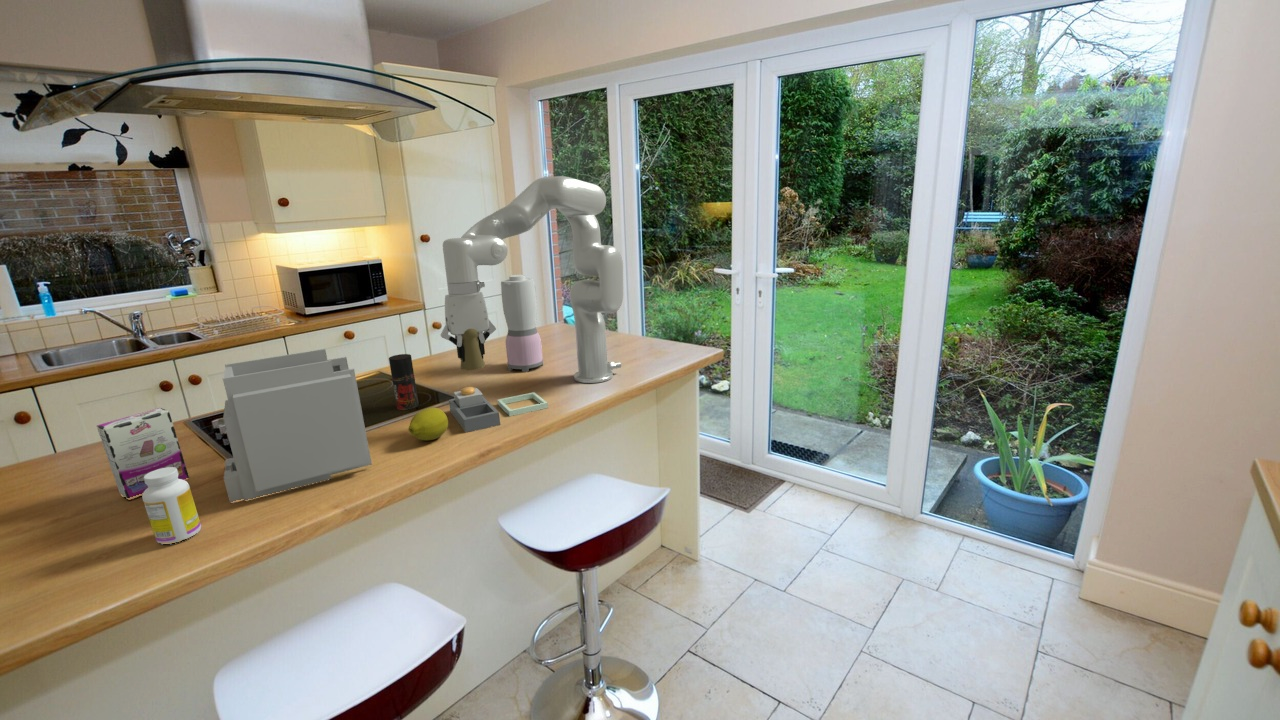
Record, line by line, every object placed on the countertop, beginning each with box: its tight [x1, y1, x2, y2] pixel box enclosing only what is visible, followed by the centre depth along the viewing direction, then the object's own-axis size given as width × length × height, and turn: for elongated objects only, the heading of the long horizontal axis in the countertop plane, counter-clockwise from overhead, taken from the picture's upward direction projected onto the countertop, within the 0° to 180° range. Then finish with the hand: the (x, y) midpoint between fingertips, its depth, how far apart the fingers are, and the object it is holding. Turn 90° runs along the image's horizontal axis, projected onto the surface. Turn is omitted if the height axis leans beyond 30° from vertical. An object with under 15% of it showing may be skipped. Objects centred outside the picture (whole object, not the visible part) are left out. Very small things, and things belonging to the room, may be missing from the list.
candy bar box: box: [96, 407, 190, 498], centre depth 123 cm, size 11×5×16 cm, turn 148°
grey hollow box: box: [448, 395, 501, 433], centre depth 157 cm, size 18×9×4 cm, turn 30°
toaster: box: [222, 348, 373, 503], centre depth 124 cm, size 17×27×26 cm, turn 123°
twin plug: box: [453, 386, 484, 408], centre depth 160 cm, size 6×6×7 cm
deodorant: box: [388, 353, 419, 411], centre depth 166 cm, size 6×6×15 cm
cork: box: [460, 329, 486, 371], centre depth 148 cm, size 6×6×11 cm
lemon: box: [408, 407, 449, 441], centre depth 143 cm, size 11×8×8 cm
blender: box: [500, 274, 544, 373], centre depth 199 cm, size 16×12×32 cm
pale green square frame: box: [497, 391, 549, 417], centre depth 164 cm, size 11×11×2 cm
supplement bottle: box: [141, 467, 202, 544], centre depth 104 cm, size 7×7×13 cm
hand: (471, 358), depth 149 cm, fingers closed on cork, 3 cm apart
